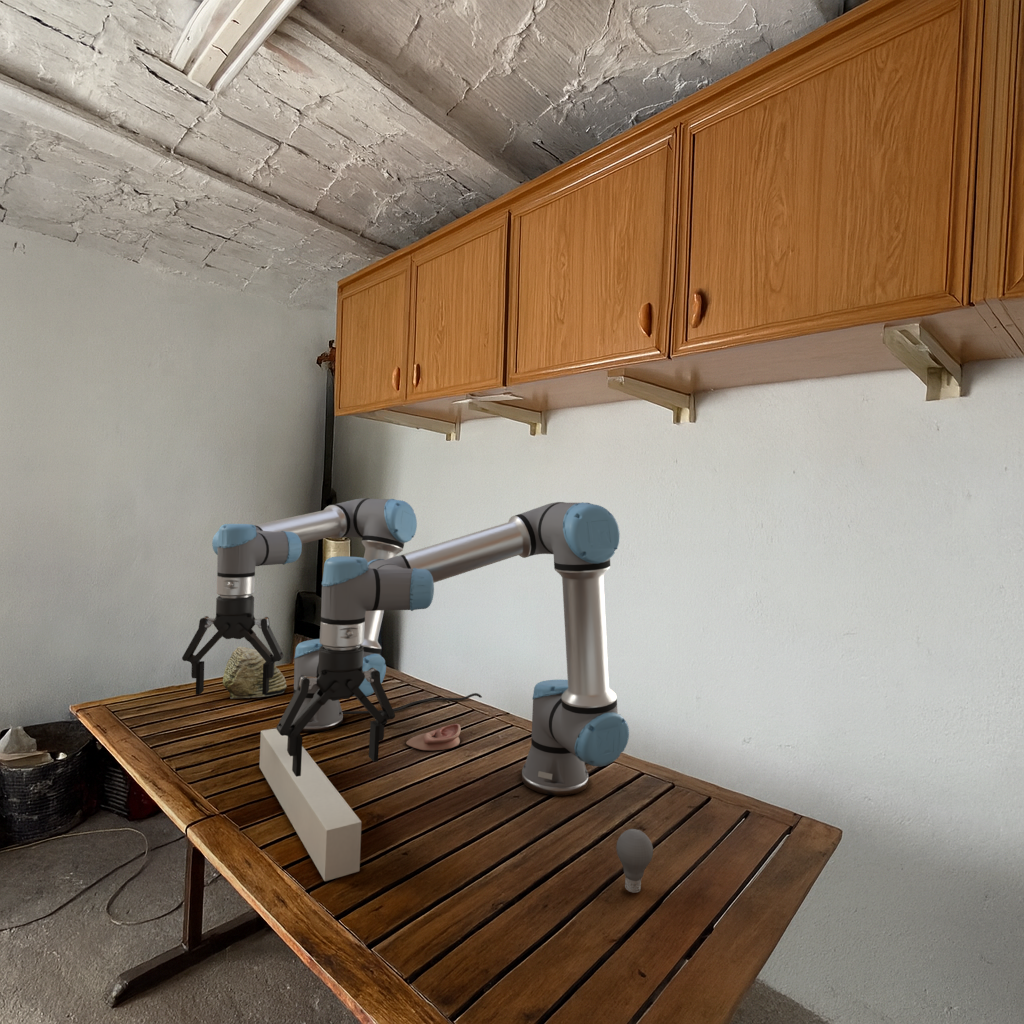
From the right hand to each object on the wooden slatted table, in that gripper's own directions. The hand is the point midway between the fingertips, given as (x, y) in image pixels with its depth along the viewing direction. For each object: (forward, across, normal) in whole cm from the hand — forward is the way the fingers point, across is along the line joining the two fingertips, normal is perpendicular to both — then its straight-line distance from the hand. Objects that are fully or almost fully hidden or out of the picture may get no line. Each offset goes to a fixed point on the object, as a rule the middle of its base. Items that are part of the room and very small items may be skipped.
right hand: (336, 766), depth 111 cm
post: (+16, 0, +19) cm, 25 cm away
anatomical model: (+16, +39, +40) cm, 58 cm away
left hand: (-3, -11, +38) cm, 40 cm away
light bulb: (+16, +41, -33) cm, 55 cm away
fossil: (+16, +6, +100) cm, 101 cm away
